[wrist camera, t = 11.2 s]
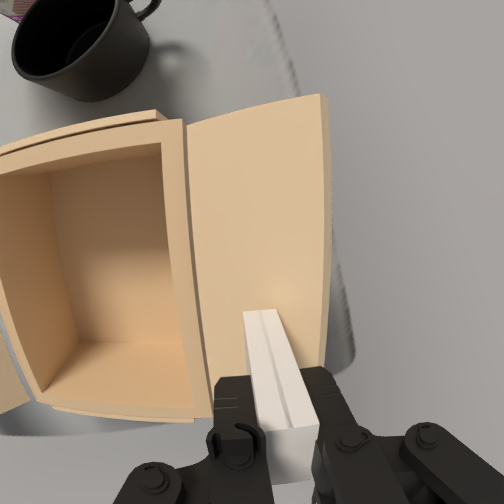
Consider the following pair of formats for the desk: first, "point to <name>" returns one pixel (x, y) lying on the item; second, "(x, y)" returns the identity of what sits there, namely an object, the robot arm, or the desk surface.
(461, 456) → the robot arm
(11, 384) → the flap
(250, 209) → the flap
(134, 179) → the carton
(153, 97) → the desk surface
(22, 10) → the candy bar box
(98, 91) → the mug
